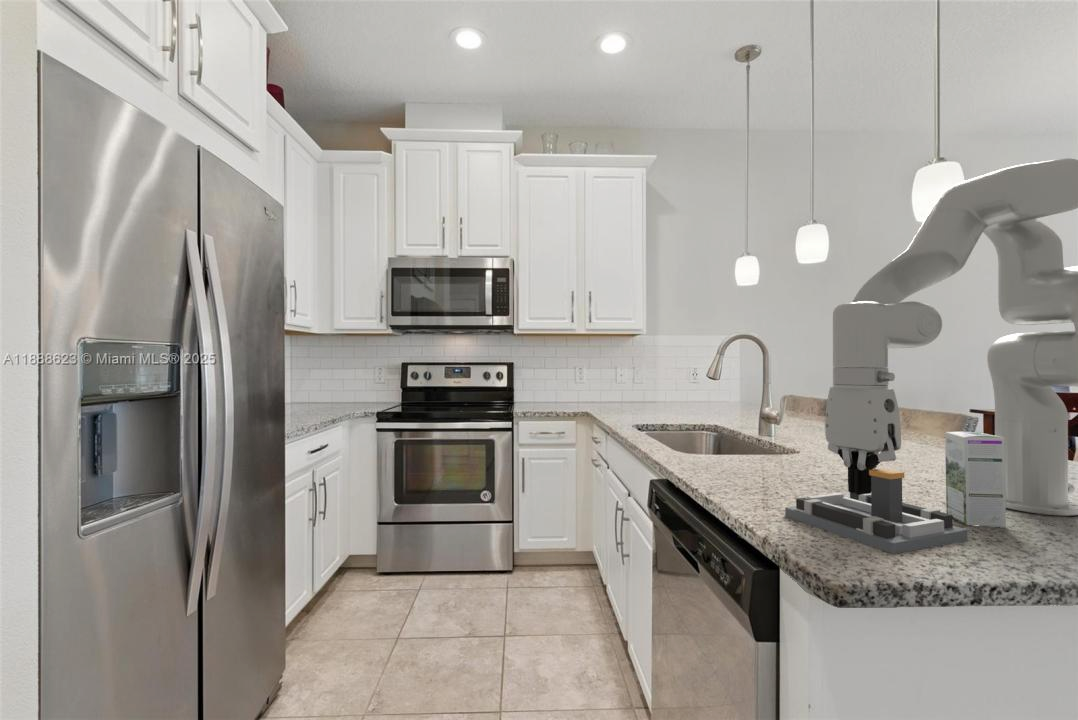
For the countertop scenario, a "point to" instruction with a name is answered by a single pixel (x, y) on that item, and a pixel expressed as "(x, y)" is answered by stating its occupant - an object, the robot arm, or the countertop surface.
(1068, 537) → the countertop surface
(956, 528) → the breaker panel
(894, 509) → the toggle knob
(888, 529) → the pair of dark rails
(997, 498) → the syrup box
